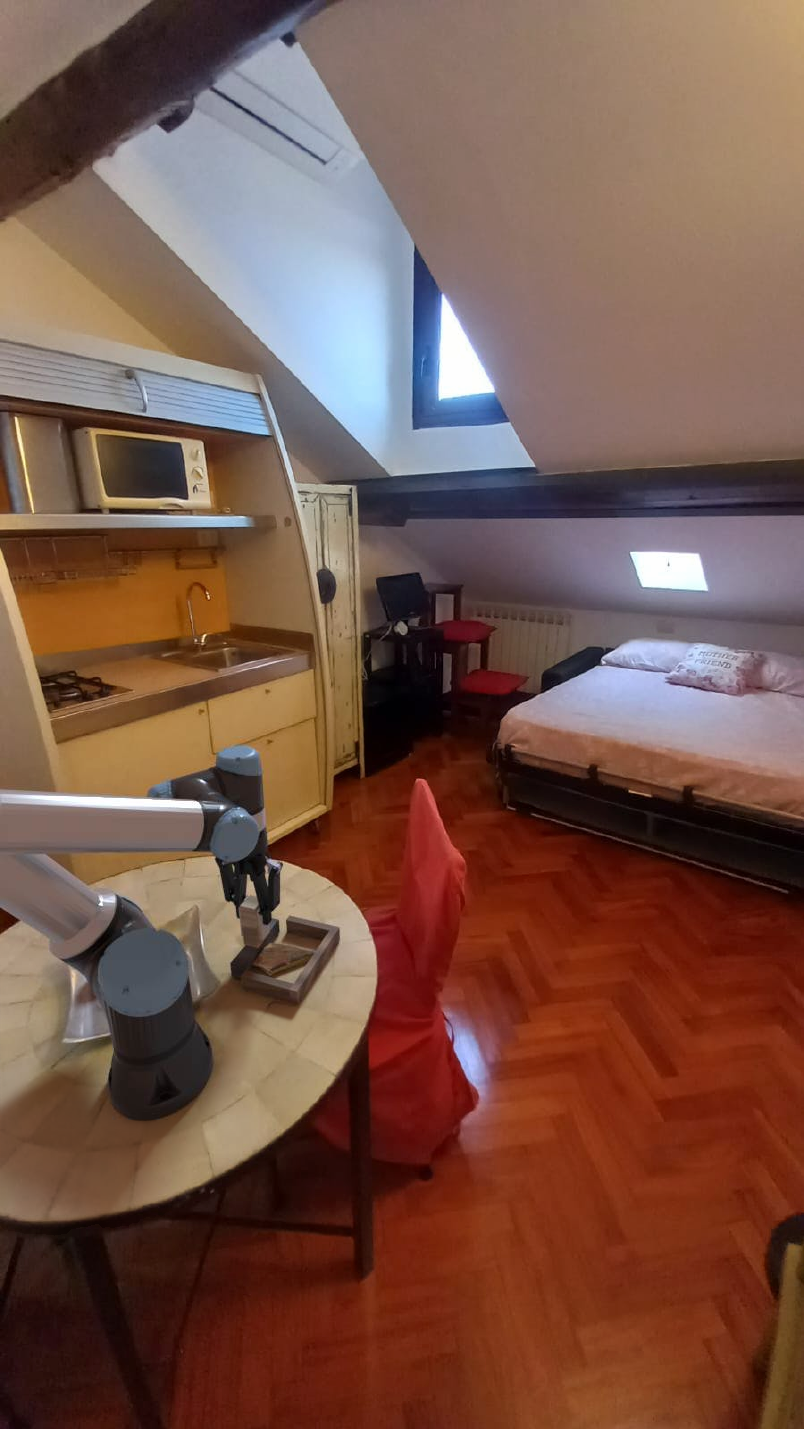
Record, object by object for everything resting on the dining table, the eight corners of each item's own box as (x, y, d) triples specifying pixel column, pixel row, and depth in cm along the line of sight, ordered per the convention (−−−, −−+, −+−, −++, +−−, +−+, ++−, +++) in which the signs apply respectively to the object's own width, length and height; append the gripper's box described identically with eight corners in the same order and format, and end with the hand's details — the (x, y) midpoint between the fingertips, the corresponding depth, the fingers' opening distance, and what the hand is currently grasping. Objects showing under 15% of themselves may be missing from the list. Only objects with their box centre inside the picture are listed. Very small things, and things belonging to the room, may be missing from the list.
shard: (318, 958, 117) (318, 950, 117) (301, 986, 110) (300, 978, 110) (269, 946, 120) (269, 939, 120) (249, 973, 114) (249, 966, 113)
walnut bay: (298, 1005, 106) (297, 991, 105) (242, 989, 109) (240, 976, 108) (340, 939, 122) (339, 927, 121) (290, 927, 125) (289, 915, 124)
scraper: (244, 979, 111) (239, 926, 107) (229, 975, 112) (223, 922, 108) (281, 932, 124) (277, 882, 120) (267, 928, 125) (263, 879, 121)
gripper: (295, 825, 110) (301, 930, 117) (219, 812, 115) (230, 913, 122) (274, 846, 103) (283, 956, 111) (194, 831, 108) (208, 937, 116)
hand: (255, 933), depth 117 cm, fingers closed on scraper, 3 cm apart
